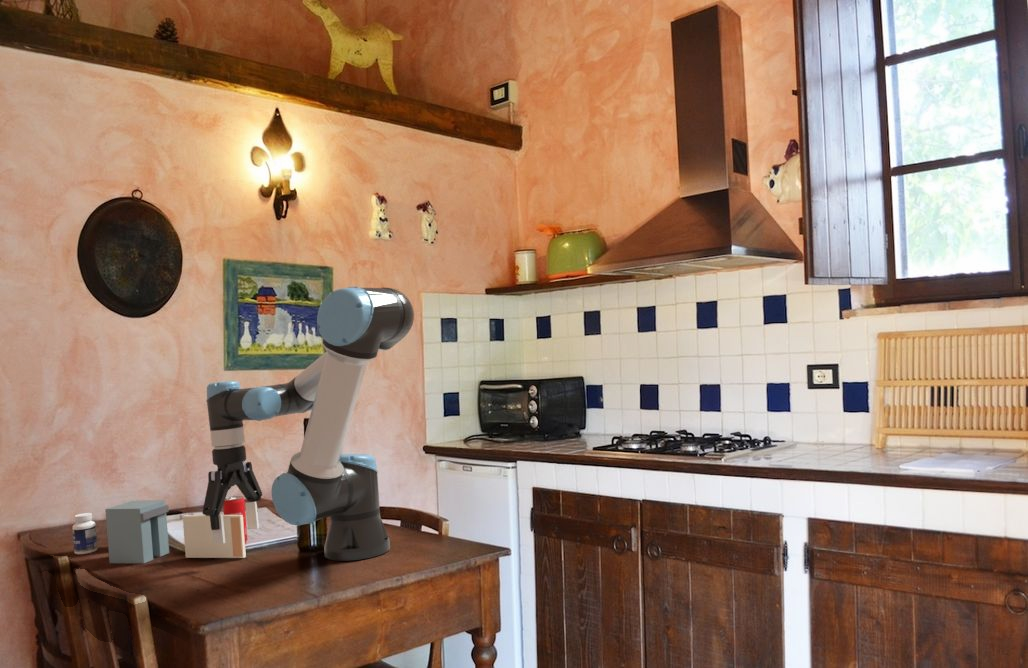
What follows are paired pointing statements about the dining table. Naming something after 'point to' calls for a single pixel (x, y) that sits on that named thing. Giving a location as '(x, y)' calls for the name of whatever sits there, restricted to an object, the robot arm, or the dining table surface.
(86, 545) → the pill bottle
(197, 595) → the dining table surface
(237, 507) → the beverage can
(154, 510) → the block
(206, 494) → the robot arm
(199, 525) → the cream panel tan stripe
